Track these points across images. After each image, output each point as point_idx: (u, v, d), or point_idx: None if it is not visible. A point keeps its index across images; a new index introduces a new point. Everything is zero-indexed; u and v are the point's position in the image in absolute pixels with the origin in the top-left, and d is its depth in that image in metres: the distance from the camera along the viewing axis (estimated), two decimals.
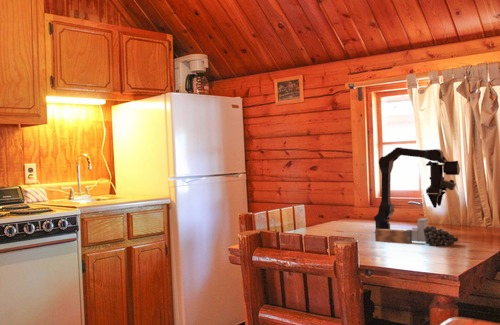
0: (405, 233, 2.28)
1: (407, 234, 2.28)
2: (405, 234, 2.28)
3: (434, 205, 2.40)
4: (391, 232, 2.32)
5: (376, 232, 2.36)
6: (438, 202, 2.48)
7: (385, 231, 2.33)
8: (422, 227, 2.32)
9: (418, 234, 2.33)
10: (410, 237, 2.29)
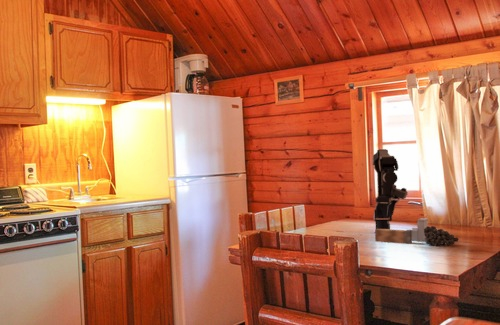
0: (405, 233, 2.28)
1: (407, 234, 2.28)
2: (405, 234, 2.28)
3: (385, 215, 2.30)
4: (391, 232, 2.32)
5: (376, 232, 2.36)
6: (390, 211, 2.38)
7: (385, 231, 2.33)
8: (422, 227, 2.32)
9: (418, 234, 2.33)
10: (410, 237, 2.29)
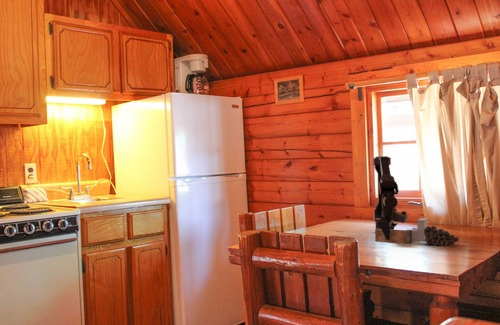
0: (405, 233, 2.28)
1: (407, 234, 2.28)
2: (405, 234, 2.28)
3: (387, 237, 2.32)
4: (391, 232, 2.32)
5: (376, 232, 2.36)
6: None
7: None
8: (422, 227, 2.32)
9: (418, 234, 2.33)
10: (410, 237, 2.29)
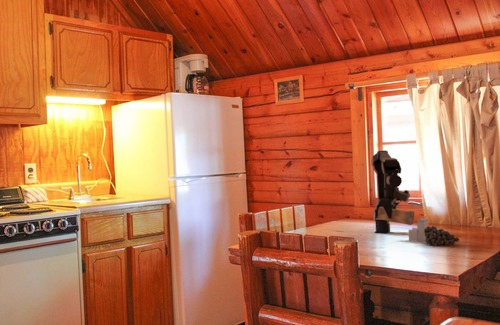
0: (408, 214, 2.31)
1: (410, 215, 2.31)
2: (408, 215, 2.31)
3: (389, 216, 2.36)
4: (394, 212, 2.35)
5: (379, 210, 2.39)
6: None
7: None
8: (422, 227, 2.32)
9: (418, 234, 2.33)
10: (412, 219, 2.32)
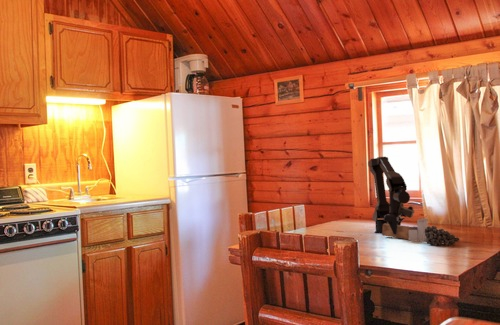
0: None
1: None
2: None
3: (394, 231, 2.41)
4: (398, 228, 2.40)
5: (383, 227, 2.44)
6: None
7: None
8: (422, 227, 2.32)
9: (418, 234, 2.33)
10: None
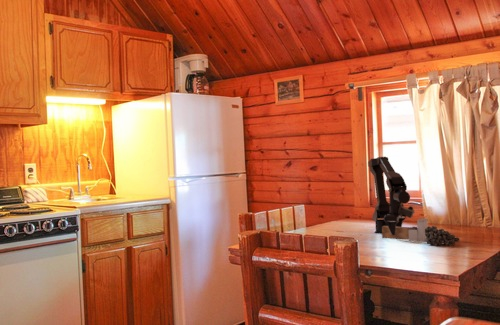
0: None
1: None
2: None
3: (393, 232, 2.38)
4: (397, 229, 2.40)
5: (383, 229, 2.44)
6: None
7: None
8: (422, 227, 2.32)
9: (418, 234, 2.33)
10: None
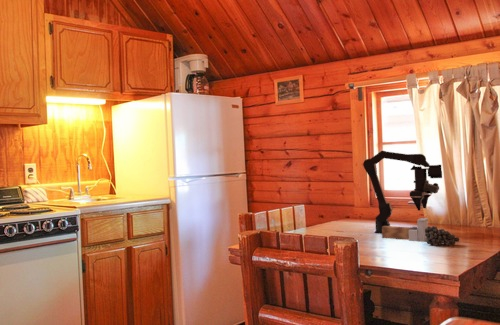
0: None
1: None
2: None
3: (418, 208, 2.49)
4: (397, 229, 2.40)
5: (383, 229, 2.44)
6: (423, 205, 2.57)
7: (391, 228, 2.42)
8: (422, 227, 2.32)
9: (418, 234, 2.33)
10: None
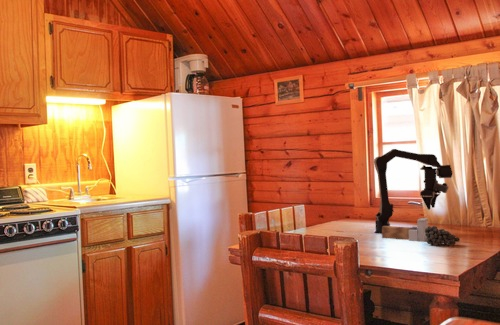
0: None
1: None
2: None
3: (428, 207, 2.54)
4: (397, 229, 2.40)
5: (383, 229, 2.44)
6: (432, 204, 2.62)
7: (392, 228, 2.42)
8: (422, 227, 2.32)
9: (418, 234, 2.33)
10: None
